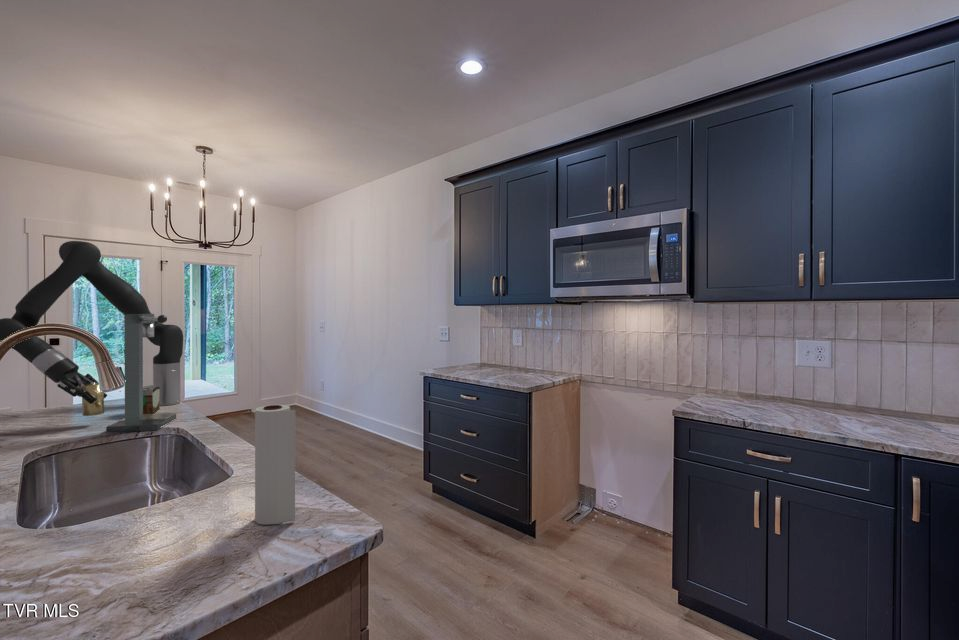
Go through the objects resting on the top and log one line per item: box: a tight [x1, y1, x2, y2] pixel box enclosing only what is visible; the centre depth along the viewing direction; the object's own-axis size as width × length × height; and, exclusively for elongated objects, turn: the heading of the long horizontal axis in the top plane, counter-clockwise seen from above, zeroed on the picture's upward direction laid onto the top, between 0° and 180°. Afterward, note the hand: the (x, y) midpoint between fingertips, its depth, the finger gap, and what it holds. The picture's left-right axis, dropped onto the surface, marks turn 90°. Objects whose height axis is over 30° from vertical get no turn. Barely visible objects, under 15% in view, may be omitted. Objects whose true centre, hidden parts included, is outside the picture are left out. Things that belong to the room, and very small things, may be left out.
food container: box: [143, 384, 161, 414], centre depth 163 cm, size 12×6×10 cm, turn 25°
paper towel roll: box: [254, 404, 296, 526], centre depth 82 cm, size 7×6×21 cm
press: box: [105, 313, 177, 433], centre depth 147 cm, size 15×16×38 cm
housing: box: [81, 382, 105, 417], centre depth 146 cm, size 6×6×11 cm
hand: (99, 399), depth 146 cm, fingers closed on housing, 5 cm apart
